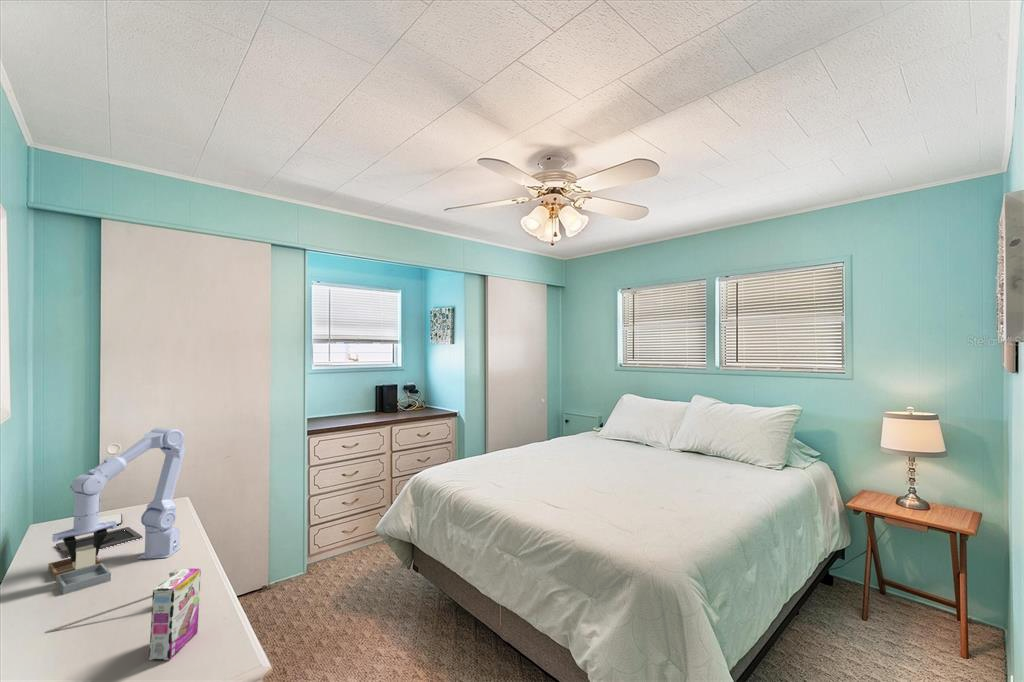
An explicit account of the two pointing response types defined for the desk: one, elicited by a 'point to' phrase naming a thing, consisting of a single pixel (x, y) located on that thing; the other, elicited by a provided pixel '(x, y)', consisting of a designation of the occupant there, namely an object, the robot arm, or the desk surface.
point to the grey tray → (83, 578)
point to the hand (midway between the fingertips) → (84, 557)
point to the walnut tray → (63, 567)
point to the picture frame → (110, 540)
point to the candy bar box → (174, 614)
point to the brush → (106, 610)
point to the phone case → (111, 519)
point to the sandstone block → (84, 557)
